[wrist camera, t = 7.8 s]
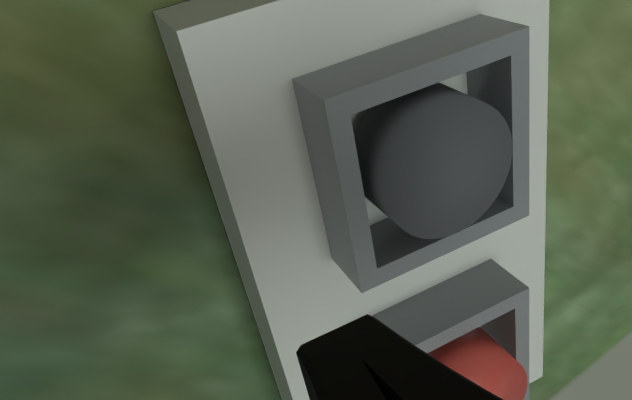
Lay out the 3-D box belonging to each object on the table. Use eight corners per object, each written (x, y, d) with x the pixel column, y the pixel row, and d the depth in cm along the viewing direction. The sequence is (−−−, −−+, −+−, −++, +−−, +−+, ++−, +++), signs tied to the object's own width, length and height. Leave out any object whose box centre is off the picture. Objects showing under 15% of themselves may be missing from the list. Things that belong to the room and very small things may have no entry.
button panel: (295, 441, 26) (346, 542, 22) (152, 10, 16) (197, 49, 12) (498, 335, 29) (576, 407, 25) (482, -85, 19) (608, -80, 15)
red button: (404, 429, 22) (435, 471, 20) (391, 354, 20) (424, 394, 18) (492, 381, 23) (527, 418, 22) (488, 306, 21) (527, 340, 19)
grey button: (362, 227, 18) (396, 260, 16) (340, 106, 16) (376, 130, 14) (471, 180, 19) (513, 207, 17) (463, 61, 17) (511, 78, 15)
